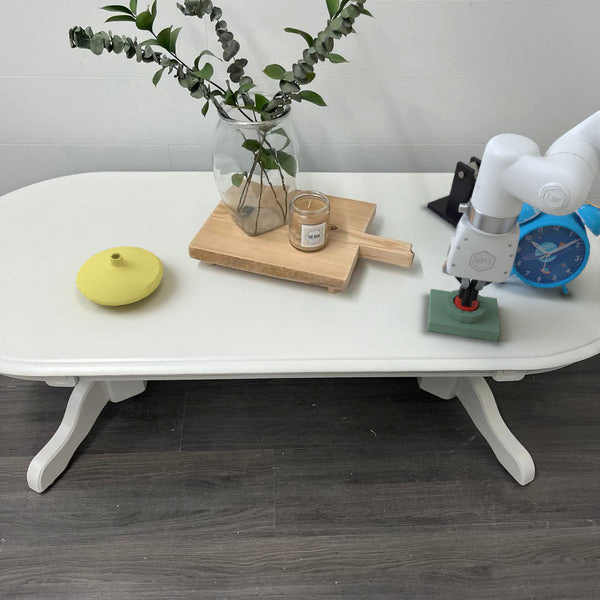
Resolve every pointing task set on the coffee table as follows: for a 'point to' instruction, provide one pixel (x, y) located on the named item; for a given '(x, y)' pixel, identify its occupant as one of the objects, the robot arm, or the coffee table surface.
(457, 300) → the button
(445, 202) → the bracket
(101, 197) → the coffee table surface
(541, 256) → the alarm clock
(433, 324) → the button box
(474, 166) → the lever
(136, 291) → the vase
